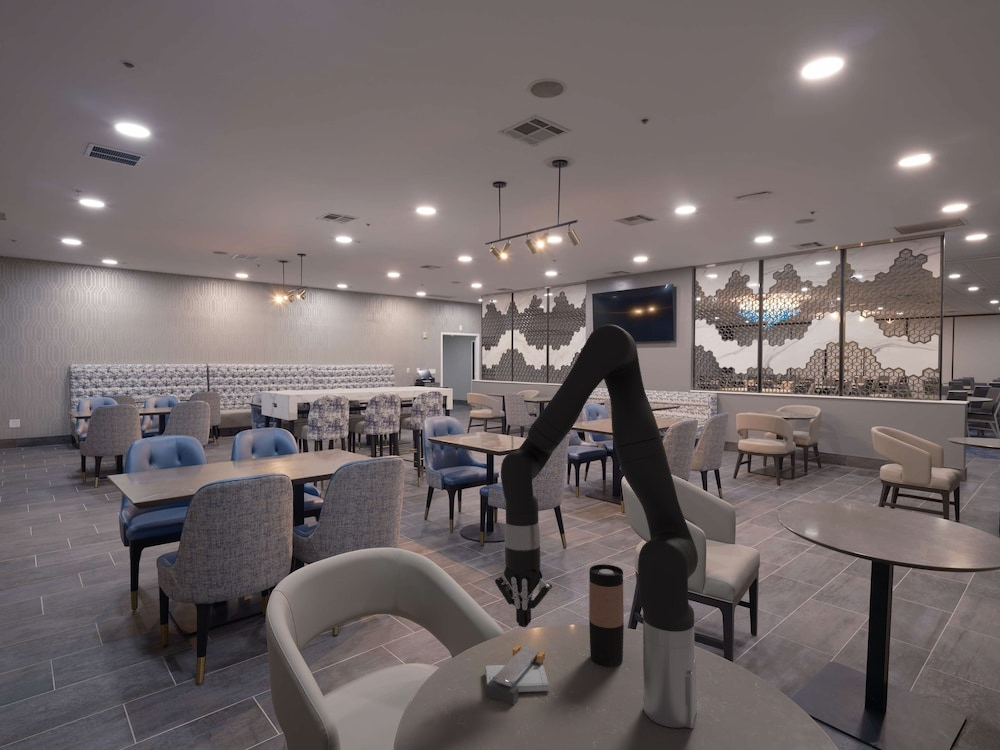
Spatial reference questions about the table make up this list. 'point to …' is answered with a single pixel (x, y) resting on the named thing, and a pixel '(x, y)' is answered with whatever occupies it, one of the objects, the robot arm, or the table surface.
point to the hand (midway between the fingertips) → (523, 625)
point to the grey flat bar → (515, 666)
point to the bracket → (505, 692)
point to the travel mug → (606, 615)
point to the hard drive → (524, 678)
